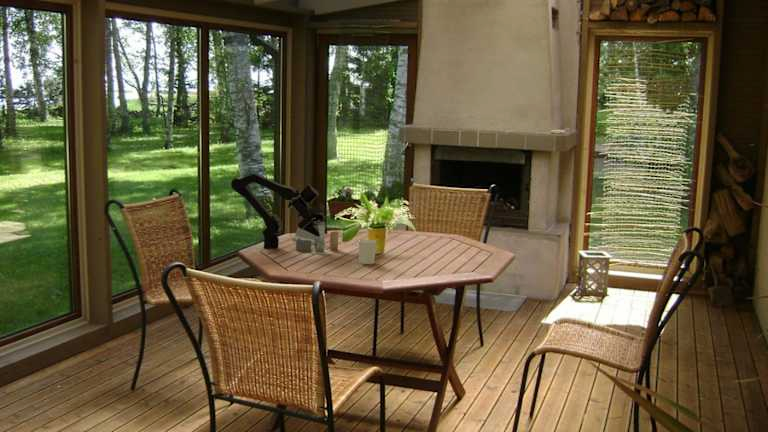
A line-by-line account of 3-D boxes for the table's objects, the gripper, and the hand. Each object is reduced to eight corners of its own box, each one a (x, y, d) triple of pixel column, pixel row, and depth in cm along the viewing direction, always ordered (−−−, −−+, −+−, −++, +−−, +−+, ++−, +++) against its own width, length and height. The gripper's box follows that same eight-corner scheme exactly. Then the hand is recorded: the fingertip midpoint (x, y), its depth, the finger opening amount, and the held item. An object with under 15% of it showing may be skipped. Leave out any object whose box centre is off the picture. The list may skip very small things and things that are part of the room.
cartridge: (314, 252, 386) (315, 223, 384) (314, 250, 390) (315, 221, 388) (324, 252, 386) (325, 223, 384) (324, 250, 391) (324, 221, 389)
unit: (296, 250, 390) (296, 238, 390) (295, 248, 395) (296, 237, 394) (310, 250, 391) (311, 239, 390) (310, 248, 396) (310, 237, 395)
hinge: (291, 240, 414) (296, 221, 415) (297, 242, 418) (302, 223, 419) (315, 245, 404) (320, 226, 405) (321, 248, 408) (327, 228, 409)
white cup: (378, 263, 371) (380, 241, 369) (365, 265, 366) (366, 243, 364) (367, 260, 377) (368, 238, 375) (354, 262, 371) (355, 240, 370)
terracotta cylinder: (329, 250, 394) (330, 232, 393) (329, 249, 398) (329, 230, 397) (338, 250, 395) (338, 232, 393) (337, 249, 398) (338, 230, 397)
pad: (311, 254, 384) (311, 253, 384) (310, 250, 392) (310, 249, 392) (328, 254, 385) (328, 253, 385) (327, 250, 393) (327, 250, 393)
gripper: (305, 200, 377) (325, 227, 375) (322, 196, 395) (342, 221, 392) (289, 215, 381) (309, 242, 379) (307, 210, 399) (327, 236, 396)
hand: (323, 234), depth 387 cm, fingers open, 8 cm apart
